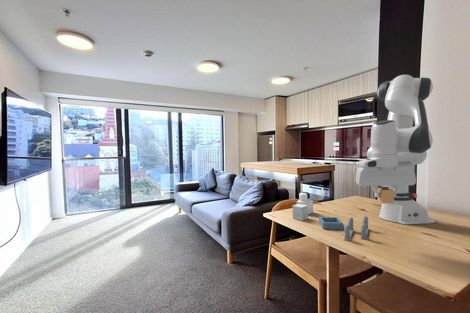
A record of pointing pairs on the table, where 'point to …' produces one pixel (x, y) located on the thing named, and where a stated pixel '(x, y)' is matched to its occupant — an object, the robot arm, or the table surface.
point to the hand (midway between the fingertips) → (385, 196)
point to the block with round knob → (386, 195)
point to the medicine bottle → (306, 201)
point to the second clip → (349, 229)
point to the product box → (300, 212)
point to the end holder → (331, 223)
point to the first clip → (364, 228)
